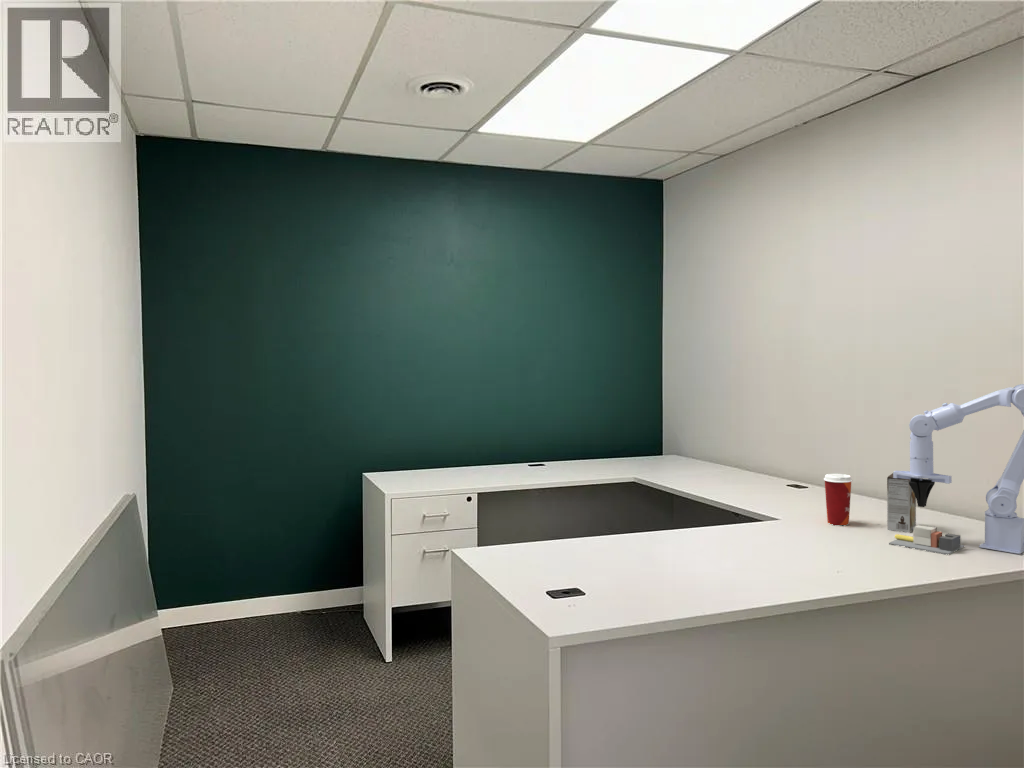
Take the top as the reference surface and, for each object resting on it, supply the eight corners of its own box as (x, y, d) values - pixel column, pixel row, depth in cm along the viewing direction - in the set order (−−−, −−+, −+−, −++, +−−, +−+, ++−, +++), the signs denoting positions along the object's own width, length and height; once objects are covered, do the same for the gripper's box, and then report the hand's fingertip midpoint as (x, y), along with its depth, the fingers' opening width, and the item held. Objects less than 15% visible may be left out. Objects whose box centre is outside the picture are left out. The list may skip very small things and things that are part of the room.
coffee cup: (857, 526, 226) (857, 477, 225) (830, 527, 226) (829, 478, 225) (845, 520, 234) (845, 472, 233) (819, 520, 234) (819, 473, 233)
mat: (963, 546, 201) (963, 545, 201) (948, 554, 194) (948, 553, 194) (905, 537, 212) (905, 535, 212) (888, 544, 205) (888, 542, 205)
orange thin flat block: (942, 545, 201) (942, 531, 201) (936, 547, 199) (936, 534, 199) (936, 544, 203) (936, 531, 202) (930, 546, 200) (930, 533, 200)
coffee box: (892, 523, 228) (892, 471, 227) (916, 526, 224) (916, 473, 223) (886, 530, 220) (886, 476, 220) (910, 533, 216) (910, 478, 216)
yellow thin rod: (944, 546, 200) (944, 541, 200) (942, 547, 199) (942, 542, 199) (895, 538, 210) (895, 533, 209) (893, 539, 209) (893, 534, 209)
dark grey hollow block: (960, 547, 199) (960, 535, 199) (951, 551, 195) (951, 539, 195) (944, 544, 202) (944, 532, 202) (935, 548, 198) (935, 536, 198)
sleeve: (937, 543, 203) (937, 527, 202) (930, 546, 200) (930, 530, 200) (919, 540, 206) (919, 524, 206) (913, 543, 203) (913, 527, 203)
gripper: (888, 457, 210) (888, 505, 210) (944, 461, 199) (944, 512, 199) (898, 454, 214) (899, 501, 215) (954, 458, 203) (954, 508, 204)
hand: (922, 506), depth 207 cm, fingers closed
